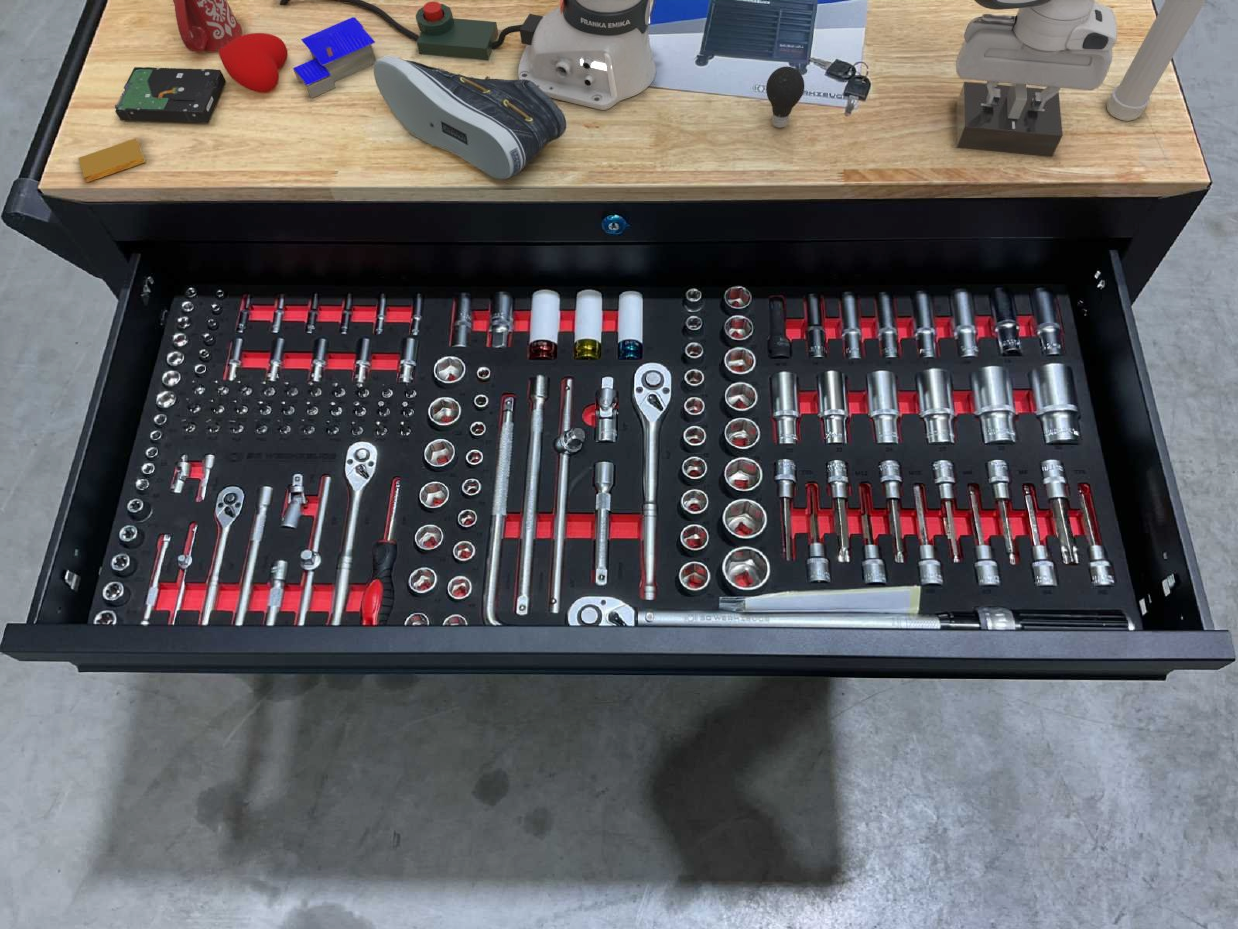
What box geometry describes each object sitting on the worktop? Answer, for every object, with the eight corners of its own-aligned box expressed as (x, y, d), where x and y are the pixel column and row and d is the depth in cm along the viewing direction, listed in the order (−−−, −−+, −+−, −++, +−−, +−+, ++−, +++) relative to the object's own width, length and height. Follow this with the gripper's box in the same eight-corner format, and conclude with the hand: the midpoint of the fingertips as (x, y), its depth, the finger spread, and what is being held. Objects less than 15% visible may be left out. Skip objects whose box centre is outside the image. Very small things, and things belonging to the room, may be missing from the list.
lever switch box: (956, 147, 136) (965, 125, 132) (956, 103, 141) (964, 80, 137) (1051, 156, 134) (1063, 134, 131) (1048, 111, 139) (1059, 88, 135)
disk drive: (228, 82, 148) (141, 79, 149) (221, 68, 146) (132, 65, 146) (210, 126, 143) (120, 123, 144) (203, 111, 141) (111, 108, 141)
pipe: (1140, 125, 137) (1257, -71, 111) (1098, 116, 138) (1204, -80, 112) (1143, 102, 139) (1259, -96, 113) (1101, 93, 141) (1206, -104, 114)
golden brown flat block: (82, 163, 140) (88, 183, 137) (78, 157, 139) (84, 177, 136) (139, 143, 141) (146, 162, 139) (135, 138, 140) (142, 157, 138)
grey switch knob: (1018, 119, 133) (1027, 98, 129) (1007, 118, 133) (1016, 97, 130) (1017, 96, 135) (1026, 75, 132) (1006, 95, 135) (1015, 74, 132)
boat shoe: (370, 106, 142) (433, 70, 149) (510, 207, 135) (570, 165, 142) (362, 41, 133) (430, 6, 139) (512, 147, 126) (576, 105, 132)
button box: (413, 53, 150) (408, 31, 147) (426, 23, 154) (421, 1, 150) (488, 60, 149) (484, 38, 145) (499, 29, 152) (496, 8, 149)
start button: (423, 21, 148) (420, 11, 147) (428, 10, 150) (425, 0, 148) (440, 22, 148) (438, 13, 147) (445, 11, 149) (443, 1, 148)
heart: (226, 14, 145) (290, 30, 147) (231, 42, 150) (292, 57, 152) (205, 61, 140) (271, 77, 141) (210, 89, 144) (274, 104, 146)
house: (283, 61, 150) (270, 31, 145) (358, 29, 154) (349, -2, 149) (311, 98, 145) (300, 68, 140) (389, 63, 149) (380, 33, 144)
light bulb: (795, 140, 138) (805, 85, 129) (758, 136, 138) (766, 80, 129) (799, 115, 140) (809, 59, 131) (763, 111, 141) (771, 55, 132)
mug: (217, -58, 144) (249, 20, 156) (163, -60, 145) (198, 17, 156) (192, -10, 138) (227, 67, 150) (135, -12, 138) (174, 65, 150)
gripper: (971, 27, 121) (942, 111, 133) (1129, 41, 119) (1085, 125, 131) (971, -2, 124) (942, 83, 136) (1125, 11, 122) (1082, 96, 134)
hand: (1013, 104), depth 133 cm, fingers open, 5 cm apart
